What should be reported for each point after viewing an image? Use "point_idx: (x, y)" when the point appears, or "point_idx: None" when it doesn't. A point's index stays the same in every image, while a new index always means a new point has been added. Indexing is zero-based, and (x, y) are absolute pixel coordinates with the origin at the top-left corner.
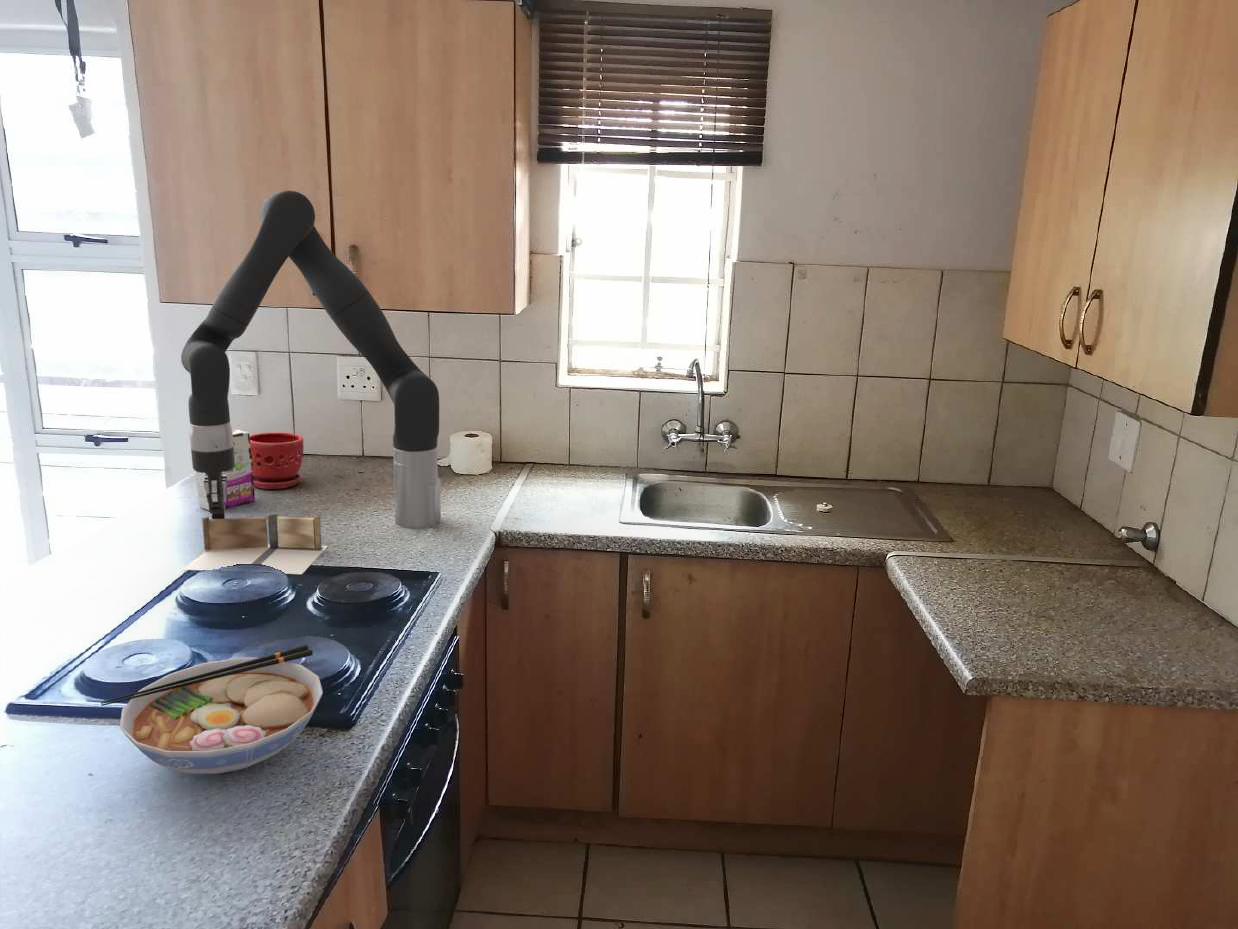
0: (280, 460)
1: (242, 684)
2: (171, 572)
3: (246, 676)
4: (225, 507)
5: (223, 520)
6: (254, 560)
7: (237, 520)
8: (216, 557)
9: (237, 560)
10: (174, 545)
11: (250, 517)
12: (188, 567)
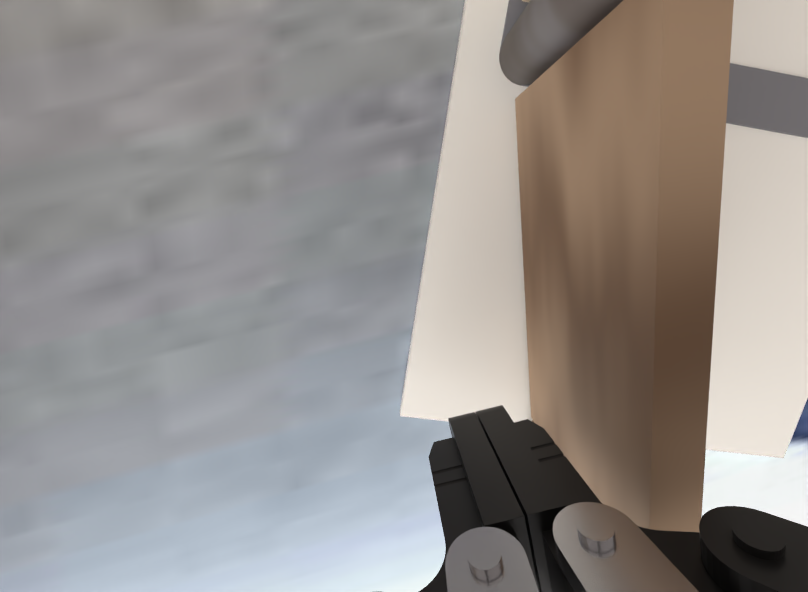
0: None
1: None
2: (767, 491)
3: None
4: (478, 547)
5: (704, 446)
6: (741, 133)
7: (703, 311)
8: None
9: (719, 233)
10: (415, 588)
11: (661, 180)
12: (764, 441)
